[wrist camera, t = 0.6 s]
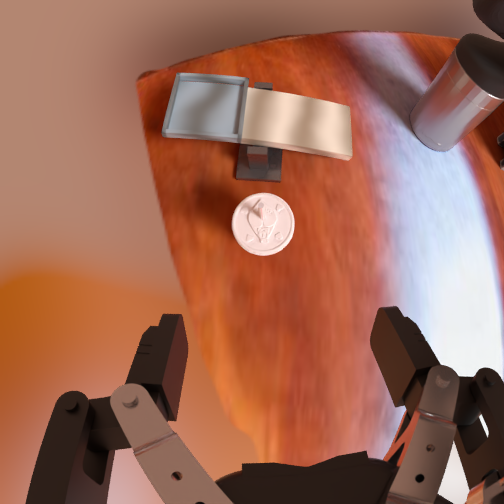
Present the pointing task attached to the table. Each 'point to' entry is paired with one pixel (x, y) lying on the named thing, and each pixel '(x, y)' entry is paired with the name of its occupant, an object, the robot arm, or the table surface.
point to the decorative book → (503, 142)
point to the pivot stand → (259, 157)
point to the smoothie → (263, 224)
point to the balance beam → (256, 116)
